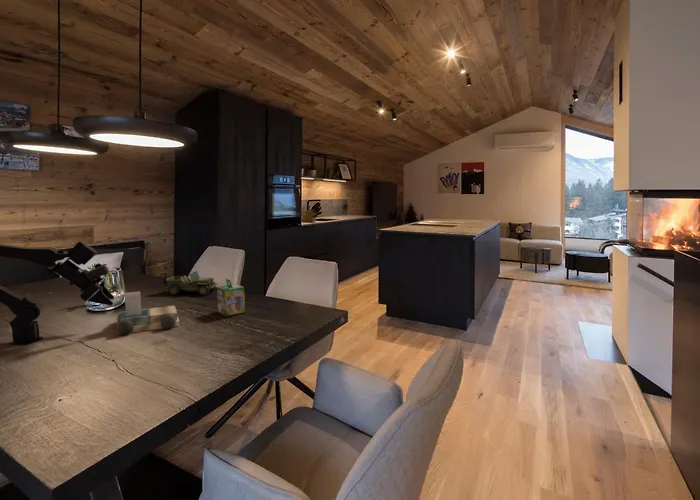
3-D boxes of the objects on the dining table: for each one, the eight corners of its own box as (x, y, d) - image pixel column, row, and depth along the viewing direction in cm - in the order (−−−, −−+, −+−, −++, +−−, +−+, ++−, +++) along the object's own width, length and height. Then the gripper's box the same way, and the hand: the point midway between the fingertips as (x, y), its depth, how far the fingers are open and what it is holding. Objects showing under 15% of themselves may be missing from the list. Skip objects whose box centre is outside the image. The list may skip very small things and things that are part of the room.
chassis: (117, 336, 132) (116, 322, 131) (118, 322, 147) (118, 309, 147) (180, 327, 142) (179, 314, 141) (175, 314, 158) (175, 303, 157)
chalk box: (245, 313, 162) (244, 279, 160) (224, 316, 156) (223, 282, 154) (237, 308, 169) (236, 276, 167) (216, 311, 163) (215, 278, 161)
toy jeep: (211, 295, 190) (210, 274, 189) (161, 295, 189) (160, 274, 188) (218, 290, 202) (217, 270, 201) (171, 289, 201) (170, 270, 200)
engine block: (126, 324, 139) (124, 295, 137) (126, 320, 143) (125, 292, 141) (142, 322, 141) (140, 294, 140) (141, 318, 145) (140, 291, 144)
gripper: (90, 261, 125) (129, 290, 132) (94, 254, 141) (130, 280, 148) (62, 286, 122) (104, 314, 129) (70, 276, 138) (107, 301, 145)
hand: (112, 301), depth 138 cm, fingers open, 9 cm apart
